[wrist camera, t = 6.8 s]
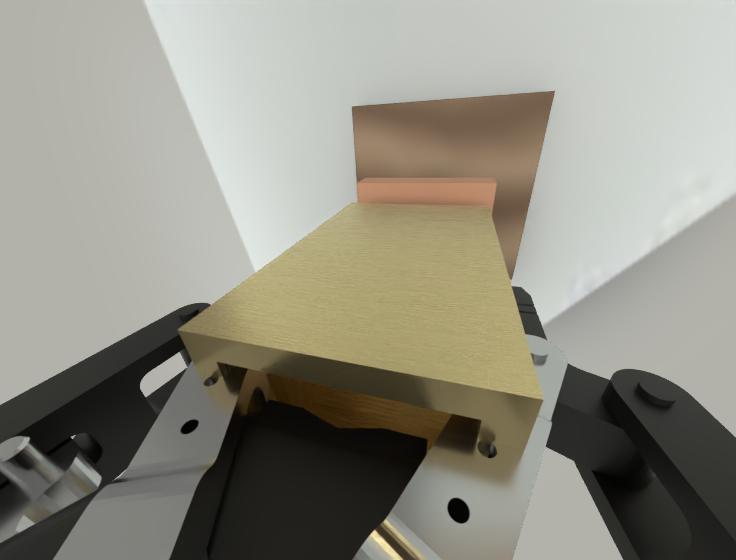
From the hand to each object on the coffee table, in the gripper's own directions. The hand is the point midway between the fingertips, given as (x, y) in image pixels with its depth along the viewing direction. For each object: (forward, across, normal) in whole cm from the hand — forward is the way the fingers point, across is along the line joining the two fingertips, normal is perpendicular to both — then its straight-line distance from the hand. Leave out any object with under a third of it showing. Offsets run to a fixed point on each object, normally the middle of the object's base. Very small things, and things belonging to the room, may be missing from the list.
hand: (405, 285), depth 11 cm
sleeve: (+2, 0, 0) cm, 2 cm away
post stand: (+16, 0, 0) cm, 16 cm away
